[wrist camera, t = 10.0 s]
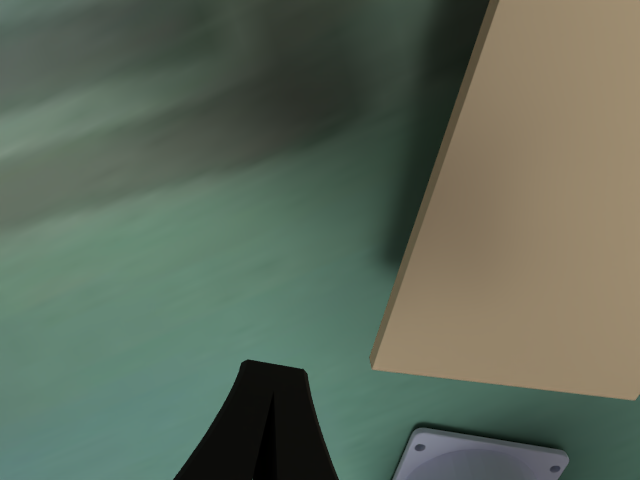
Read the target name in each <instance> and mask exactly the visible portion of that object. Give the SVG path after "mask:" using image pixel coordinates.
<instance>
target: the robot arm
mask: <svg viewBox="0 0 640 480" xmlns="http://www.w3.org/2000/svg"><path fill="white" fill-rule="evenodd" d="M418 444H420V445H418ZM568 463H569V458H568V456H567V453H566V452H565V451H563V450H559V449H553V448H546V447H540V446H534V445H528V444H522V443H516V442H510V441H503V440H497V439H491V438H485V437H479V436H473V435H467V434H460V433H454V432H448V431H442V430H436V429H430V428H418V429H416V430H414V431H413V433H412V435H411V437H410V439H409V442H408V444H407V446H406V449H405V451H404V454H403V456H402V458H401V461H400V463H399V465H398V468H397V470H396V472H395V475H394V477H393V479H392V480H558V478H559V477H560V475H561V474H562V472H563V471H564V469H565V468H566V466H567V465H568ZM252 479H253V480H339V479H338V477H337V474H336V471H335V469H334V466H333V464H332V461H331V458H330V455H329V452H328V449H327V447H326V444H325V441H324V438H323V435H322V432H321V429H320V425H319V422H318V419H317V415H316V412H315V408H314V404H313V400H312V396H311V392H310V387H309V381H308V374H307V373H306V372H305V370H304V369H300V368H294V367H288V366H282V365H277V364H271V363H265V362H259V361H254V360H246V361H244V362H242V363H241V366H240V370H239V373H238V375H237V378H236V380H235V382H234V385H233V387H232V389H231V391H230V393H229V395H228V397H227V398H226V400H225V402H224V404H223V406H222V408H221V409H220V411H219V413H218V414H217V416H216V418H215V419H214V421H213V422H212V424H211V426H210V427H209V429H208V431H207V432H206V434H205V435H204V437H203V438H202V440H201V441H200V443H199V444H198V446H197V447H196V449H195V450H194V451H193V453H192V454H191V456H190V457H189V458H188V460H187V461H186V463H185V464H184V466H183V467H182V468H181V470H180V471H179V472H178V474H177V475H176V476H175V478H174V479H173V480H252Z"/></svg>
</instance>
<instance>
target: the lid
mask: <svg viewBox="0 0 640 480" xmlns="http://www.w3.org/2000/svg"><path fill="white" fill-rule="evenodd" d="M369 358H370V363H371V368H372V370H379V371H387V372H396V373H404V374H413V375H421V376H430V377H438V378H447V379H456V380H464V381H473V382H481V383H490V384H498V385H507V386H515V387H524V388H532V389H541V390H550V391H558V392H567V393H575V394H584V395H592V396H601V397H609V398H618V399H626V400H636V398H637V397H638V395H639V394H640V0H490V1H489V4H488V7H487V10H486V13H485V16H484V19H483V22H482V25H481V28H480V31H479V34H478V37H477V40H476V43H475V46H474V48H473V51H472V54H471V57H470V60H469V63H468V66H467V69H466V72H465V75H464V78H463V81H462V84H461V87H460V90H459V93H458V96H457V99H456V102H455V105H454V108H453V111H452V114H451V117H450V120H449V123H448V126H447V129H446V132H445V134H444V137H443V140H442V143H441V146H440V149H439V152H438V155H437V158H436V161H435V164H434V167H433V170H432V173H431V176H430V179H429V182H428V185H427V188H426V191H425V194H424V197H423V200H422V203H421V206H420V209H419V212H418V215H417V218H416V220H415V223H414V226H413V229H412V232H411V235H410V238H409V241H408V244H407V247H406V250H405V253H404V256H403V259H402V262H401V265H400V268H399V271H398V274H397V277H396V280H395V283H394V286H393V289H392V292H391V295H390V298H389V301H388V304H387V306H386V309H385V312H384V315H383V318H382V321H381V324H380V327H379V330H378V333H377V336H376V339H375V342H374V345H373V348H372V351H371V354H370V357H369Z"/></svg>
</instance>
